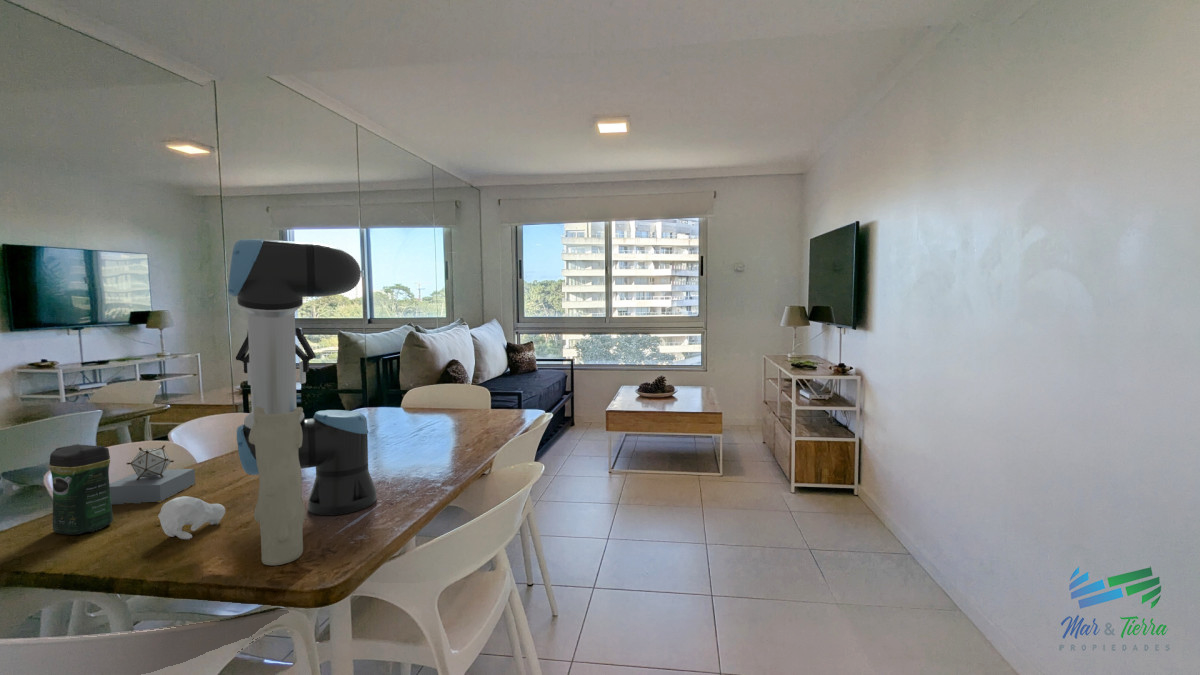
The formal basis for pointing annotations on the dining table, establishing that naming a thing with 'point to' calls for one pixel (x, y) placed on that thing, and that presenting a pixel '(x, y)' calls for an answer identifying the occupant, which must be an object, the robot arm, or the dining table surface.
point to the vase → (279, 484)
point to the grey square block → (151, 486)
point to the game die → (150, 462)
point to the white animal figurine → (188, 515)
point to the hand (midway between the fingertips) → (277, 383)
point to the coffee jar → (80, 488)
